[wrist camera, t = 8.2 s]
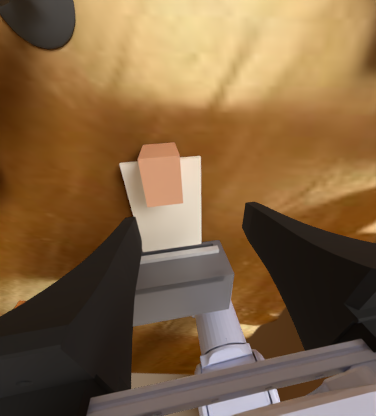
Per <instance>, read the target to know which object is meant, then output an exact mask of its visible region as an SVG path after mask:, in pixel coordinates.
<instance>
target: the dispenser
mask: <svg viewBox="0 0 376 416" xmlns="http://www.w3.org/2000/svg"><path fill="white" fill-rule="evenodd" d="M233 279H234V272H233V270H232V268H231V266H230V263H229V261H228V259H227V257H226V254H225V252H224V250H223V247H222V245H221V243H220V241H219V240H216V241H209V242H201V244H198V245H191V246H184V247H177V248H170V249H163V250H156V251H149V252H143V251H142V255H141V261H140V267H139V273H138V279H137V284H136V291H135V300H134V315H133V326H139V325H144V324H150V323H155V322H161V321H166V320H171V319H177V318H182V317H188V316H193V315H199V314H204V313H210V312H215V311H221V310H226V309H229V305H230V298H231V292H232V285H233Z"/></svg>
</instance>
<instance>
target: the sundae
mask: <svg viewBox="0 0 376 416" xmlns="http://www.w3.org/2000/svg"><path fill="white" fill-rule="evenodd" d="M0 14H1V16H2V17H3V19H4V20H5V21H6V22H7V23H8V25H9V26H10V27H11V28H12V29H13V30H14V31H15V32H16V33H17V34H18V35H19V36H21V37H22V38H23V39H25V40H26V41H28V42H29V43H31V44H33V45H35V46H38V47H41V48H45V49H55V48H59V47H62V46H63V45H64V44H66V43H67V42H68V40H69V39H70V38H71V36H72V33H73V30H74V26H75V9H74V2H73V0H0Z"/></svg>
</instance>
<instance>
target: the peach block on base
mask: <svg viewBox="0 0 376 416" xmlns="http://www.w3.org/2000/svg"><path fill="white" fill-rule="evenodd" d="M119 165H120V168H121V172H122V176H123V180H124V183H125V187H126V191H127V194H128V198H129V202H130V206H131V209H132V213H133V217H136V220H137V224H138V228H139V232H140V235H141V239H142V250H143V252H149V251H156V250H163V249H170V248H177V247H184V246H191V245H198V244H201V157H200V156H192V157H180V155H179V152H178V150H177V147H176V145H175V143H174V142H173V143H161V144H148V145H143V147H142V149H141V152H140V154H139V157H138V161H135V162H124V163H120V164H119Z"/></svg>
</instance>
